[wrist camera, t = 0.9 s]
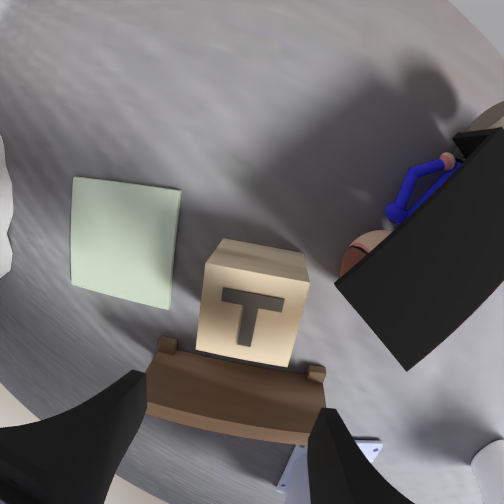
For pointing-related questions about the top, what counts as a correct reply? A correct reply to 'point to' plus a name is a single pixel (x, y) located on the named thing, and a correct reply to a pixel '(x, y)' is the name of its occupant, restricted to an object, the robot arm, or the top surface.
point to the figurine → (5, 213)
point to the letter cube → (252, 302)
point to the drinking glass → (490, 472)
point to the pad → (124, 239)
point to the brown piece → (233, 396)
